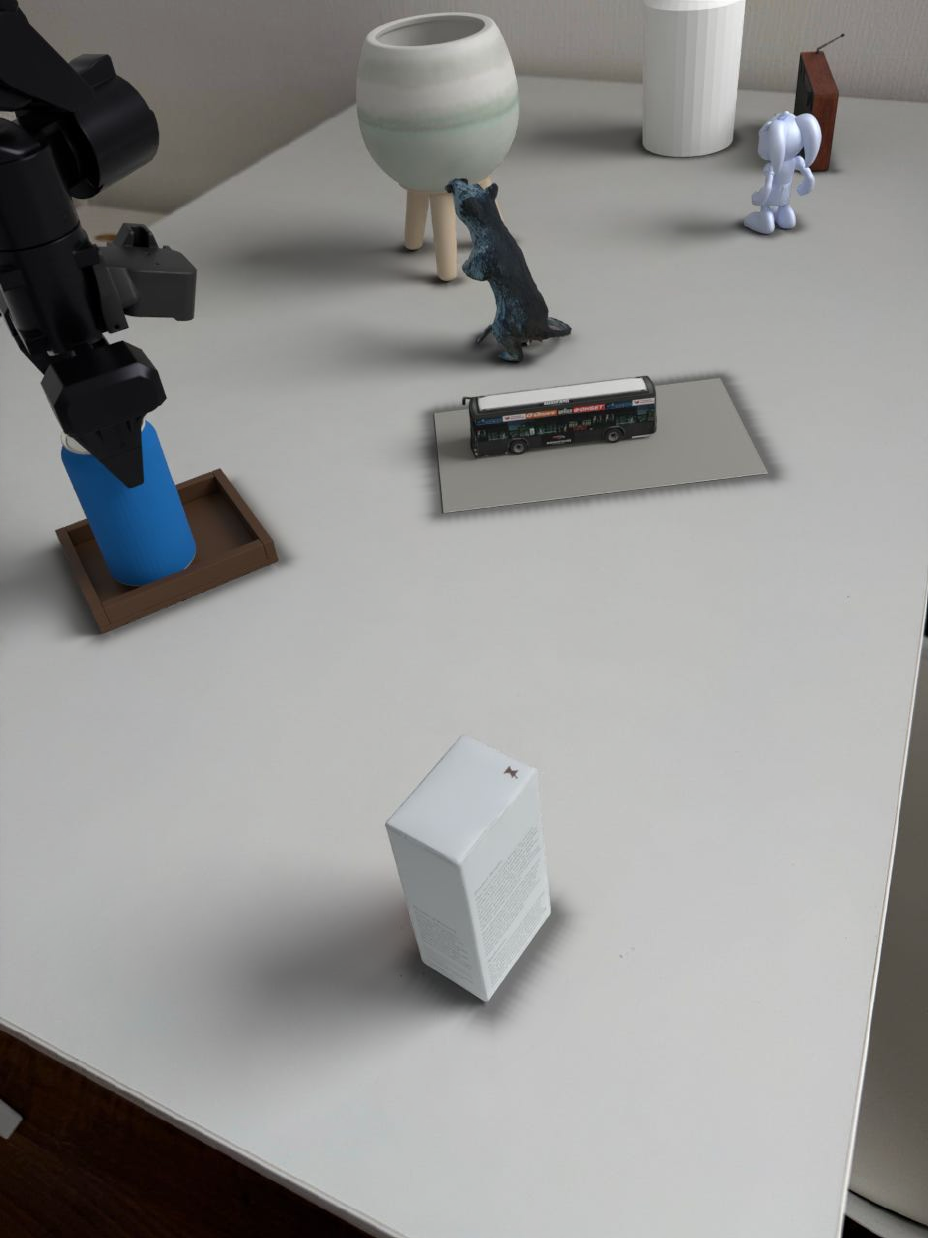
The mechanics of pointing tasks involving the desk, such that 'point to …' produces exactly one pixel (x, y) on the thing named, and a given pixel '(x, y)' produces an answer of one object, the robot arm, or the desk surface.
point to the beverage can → (132, 513)
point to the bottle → (690, 74)
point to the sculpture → (502, 272)
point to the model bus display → (589, 441)
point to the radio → (817, 100)
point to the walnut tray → (222, 555)
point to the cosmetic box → (473, 864)
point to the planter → (437, 114)
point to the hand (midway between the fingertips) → (117, 453)
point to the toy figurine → (783, 168)
